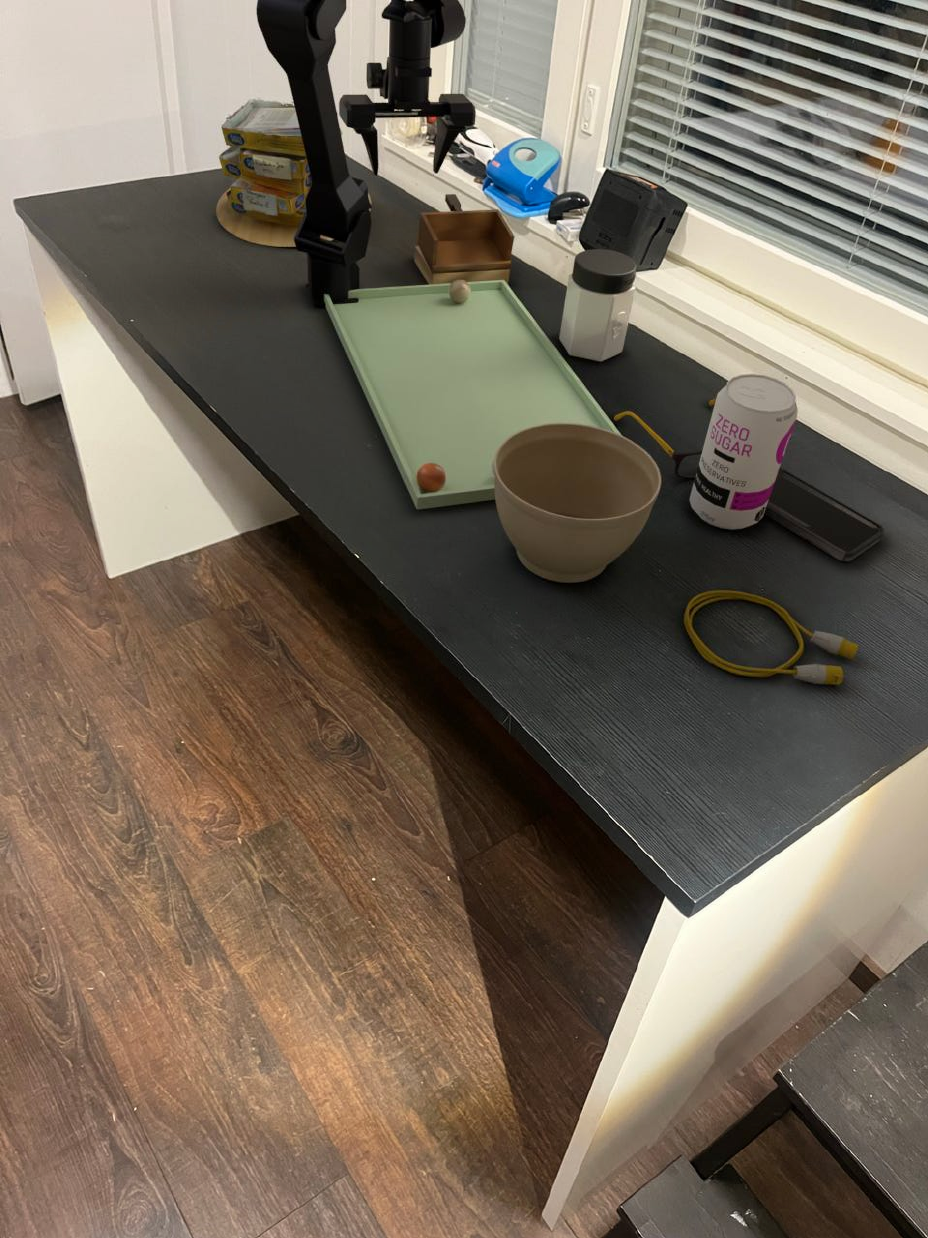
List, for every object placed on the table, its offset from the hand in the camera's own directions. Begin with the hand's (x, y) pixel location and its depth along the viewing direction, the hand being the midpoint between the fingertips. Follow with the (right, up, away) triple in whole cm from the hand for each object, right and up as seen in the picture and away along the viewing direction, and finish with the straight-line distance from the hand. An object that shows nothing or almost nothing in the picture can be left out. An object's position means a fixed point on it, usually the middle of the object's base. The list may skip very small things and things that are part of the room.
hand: (405, 173), depth 141 cm
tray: (+9, -35, -18) cm, 41 cm away
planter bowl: (+19, -59, -42) cm, 75 cm away
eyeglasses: (+36, -45, -25) cm, 63 cm away
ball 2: (+8, -19, -4) cm, 21 cm away
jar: (+26, -28, -9) cm, 39 cm away
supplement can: (+38, -54, -34) cm, 74 cm away
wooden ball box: (+8, -10, +4) cm, 13 cm away
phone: (+47, -55, -34) cm, 80 cm away
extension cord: (+37, -69, -50) cm, 92 cm away
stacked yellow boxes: (-19, 0, +15) cm, 25 cm away
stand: (+8, -13, +5) cm, 16 cm away
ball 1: (+5, -51, -38) cm, 63 cm away
